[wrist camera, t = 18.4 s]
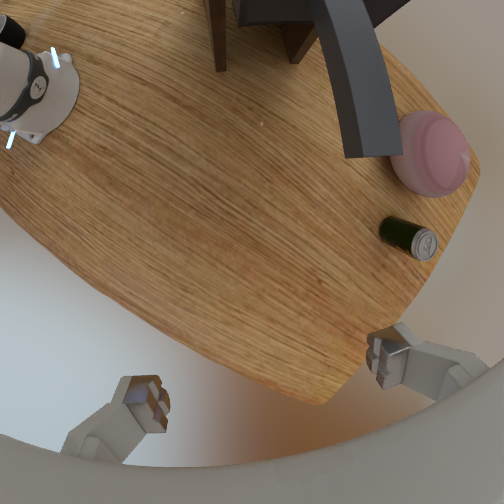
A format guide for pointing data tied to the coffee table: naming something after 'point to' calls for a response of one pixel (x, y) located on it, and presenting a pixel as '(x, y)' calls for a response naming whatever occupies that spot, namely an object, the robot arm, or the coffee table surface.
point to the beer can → (409, 238)
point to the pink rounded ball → (431, 154)
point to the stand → (294, 34)
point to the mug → (11, 32)
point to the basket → (345, 64)
